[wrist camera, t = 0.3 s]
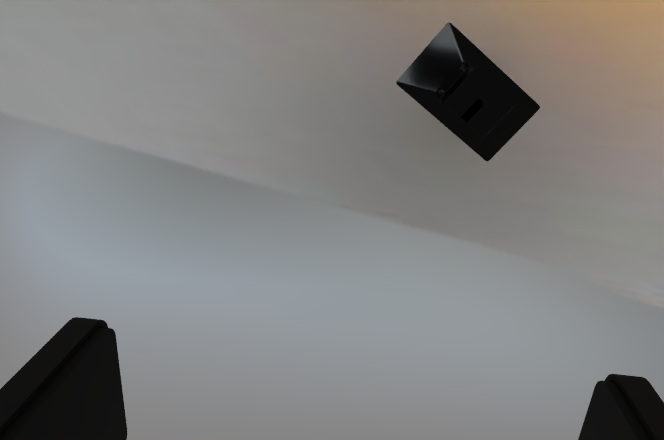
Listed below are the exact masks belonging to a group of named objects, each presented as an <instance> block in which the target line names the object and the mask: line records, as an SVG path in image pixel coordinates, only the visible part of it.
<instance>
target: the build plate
mask: <svg viewBox="0 0 664 440" xmlns="http://www.w3.org/2000/svg"><path fill="white" fill-rule="evenodd" d="M397 85H398V86H400V87H401V88H402V89H403V90H404V91H405V92H407V93H408V94H409V95H410V96H411V97H412V98H414V99H415V100H416V101H417V102H418V103H419V104H421V105H422V106H423V107H424V108H425V109H426V110H427V111H429V112H430V113H431V114H432V115H433V116H434V117H436V118H437V119H438V120H439V121H440V122H441V123H443V124H444V125H445V126H446V127H447V128H448V129H450V130H451V131H452V132H453V133H454V134H455V135H456V136H458V137H459V138H460V139H461V140H462V141H463V142H465V143H466V144H467V145H468V146H469V147H470V148H472V149H473V150H474V151H475V152H476V153H477V154H479V155H480V156H481V157H482V158H483V159H484V160H485V161H489V160H490V159H491V158H492V157H493V156H494V155H495V154H496V153H497V152H498V151H499V150H500V149H501V148H502V147H503V146H504V145H505V144H506V143H507V142H508V141H509V140H510V139H511V138H512V136H513V135H514V134H515V133H516V132H517V131H518V130H519V129H520V128H521V127H522V126H523V125H524V124H525V123H526V122H527V121H528V120H529V119H530V118H531V117H532V116H533V115H534V114H535V113H536V112H537V111H538V110H539V108H540V106H539V105H538V104H537V103H536V102H535V101H534V100H533V99H532V98H531V97H529V96H528V95H527V94H526V93H525V92H524V91H523V90H522V89H521V88H520V87H519V86H518V85H517V84H516V83H514V82H513V81H512V80H511V79H510V78H509V77H508V76H507V75H506V74H505V73H504V72H503V71H502V70H501V69H499V68H498V67H497V66H496V65H495V64H494V63H493V62H492V61H491V60H490V59H489V58H488V57H487V56H485V55H484V54H483V53H482V52H481V51H480V50H479V49H478V48H477V47H476V46H475V45H474V44H473V43H472V42H470V41H469V40H468V39H467V38H466V37H465V36H464V35H463V34H462V33H461V32H460V31H459V30H458V29H457V28H455V27H454V26H453V25H452V24H451V23H447V24H446V25H445V27H444V28H443V29H442V30H441V31H440V32H439V33H438V35H437V36H436V37H435V38H434V39H433V40H432V41H431V43H430V44H429V45H428V46H427V47H426V48H425V49H424V51H423V52H422V53H421V54H420V55H419V56H418V57H417V59H416V60H415V61H414V62H413V63H412V64H411V66H410V67H409V68H408V69H407V70H406V71H405V72H404V74H403V75H402V76H401V77H400V78H399V79H398V80H397Z"/></svg>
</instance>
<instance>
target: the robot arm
mask: <svg viewBox="0 0 664 440" xmlns="http://www.w3.org/2000/svg"><path fill="white" fill-rule="evenodd" d="M126 439H127V427H126V418H125V409H124V402H123V393H122V385H121V376H120V368H119V360H118V352H117V343H116V335H115V332H114V330H113V329H110V328H108V326H107V324H106V322H105V321H103V320H97V319H87V318H77V317H76V318H72V319H71V320H70V321H69V322H67V323H66V325H64V326H63V327H62V328H61V329H60V330H59V331H58V332H57V333H56V334H55V335H54V336H53V338H51V339H50V340H49V341H48V342H47V343H46V344H45V345H44V346H43V347H42V348H41V349H40V350H39V351H38V352H37V353H36V354H35V355H34V356H33V357H32V358H31V359H30V360H29V361H28V362H27V363H26V364H25V365H24V366H23V367H22V368H21V369H20V370H19V371H18V372H17V373H16V374H15V375H14V376H13V377H12V378H11V379H10V380H9V381H8V382H7V383H6V384H5V385H4V386H3V387H2V388H1V389H0V440H126ZM578 440H664V402H663V401H662V400H661V398H660V397H659V395H658V394H657V393H656V391H655V390H654V388H653V387H652V385H651V384H650V383H649V382H648V381H647V379H645V378H643V377H635V376H626V375H617V374H610V375H608V377H607V378H606V379H605V381H599V382H597V384H596V386H595V389H594V392H593V395H592V398H591V401H590V404H589V407H588V411H587V414H586V417H585V420H584V423H583V426H582V429H581V433H580V436H579V439H578Z"/></svg>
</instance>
